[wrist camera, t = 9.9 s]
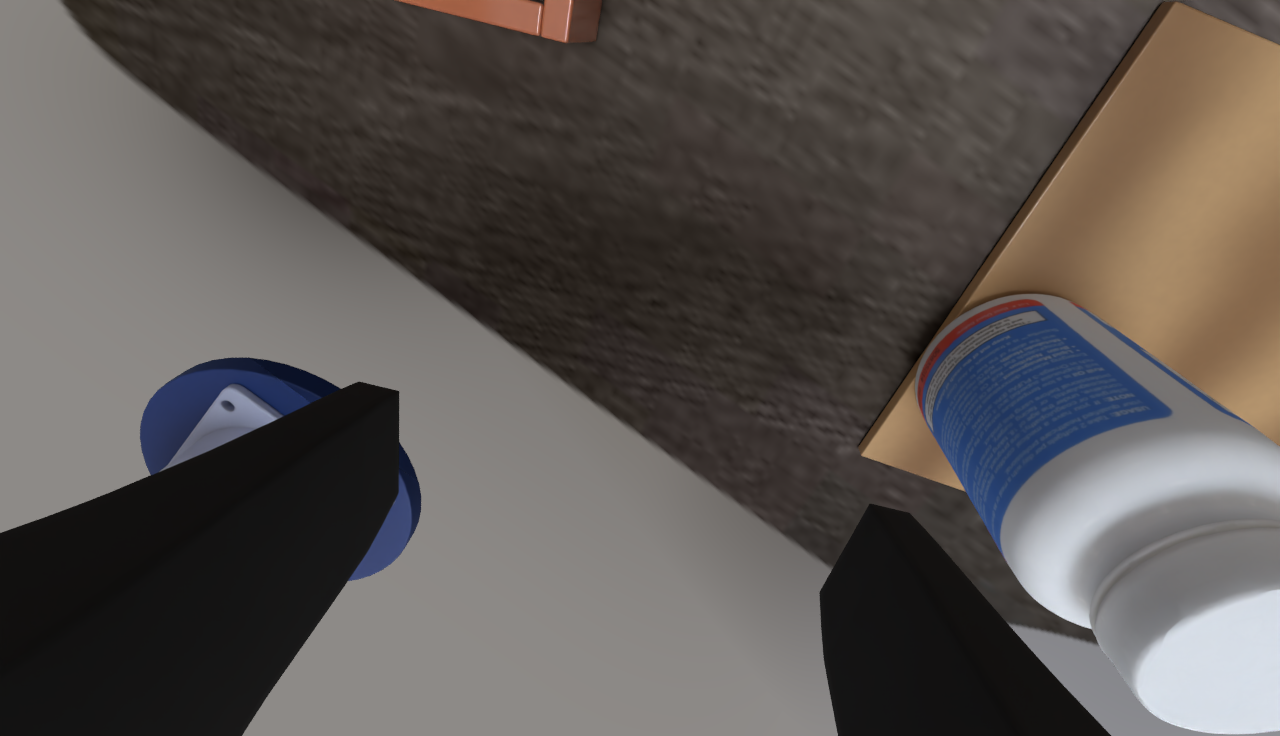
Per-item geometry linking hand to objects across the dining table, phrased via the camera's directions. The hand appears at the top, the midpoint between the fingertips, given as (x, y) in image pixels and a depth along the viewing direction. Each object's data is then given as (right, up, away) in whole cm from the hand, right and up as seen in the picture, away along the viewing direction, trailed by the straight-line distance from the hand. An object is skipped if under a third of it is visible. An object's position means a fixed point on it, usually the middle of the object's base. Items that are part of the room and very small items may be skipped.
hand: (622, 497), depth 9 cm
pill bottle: (+12, +2, +9) cm, 15 cm away
